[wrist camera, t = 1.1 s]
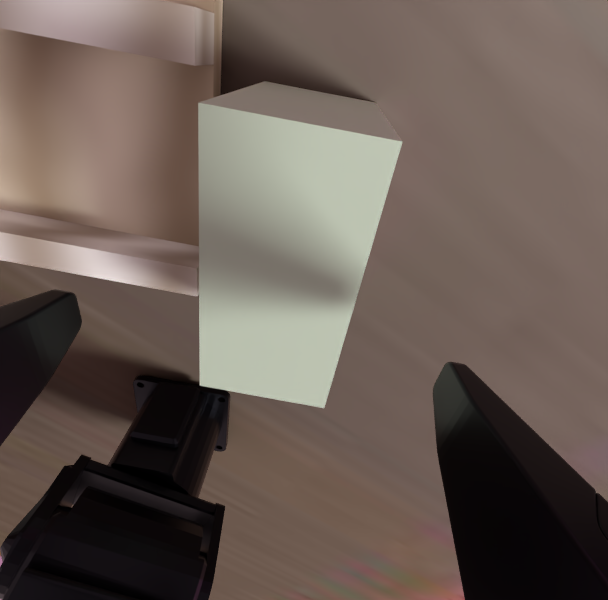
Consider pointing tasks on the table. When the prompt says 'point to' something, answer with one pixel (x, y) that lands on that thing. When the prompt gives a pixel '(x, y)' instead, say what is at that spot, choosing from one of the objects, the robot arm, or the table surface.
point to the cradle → (105, 135)
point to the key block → (285, 233)
